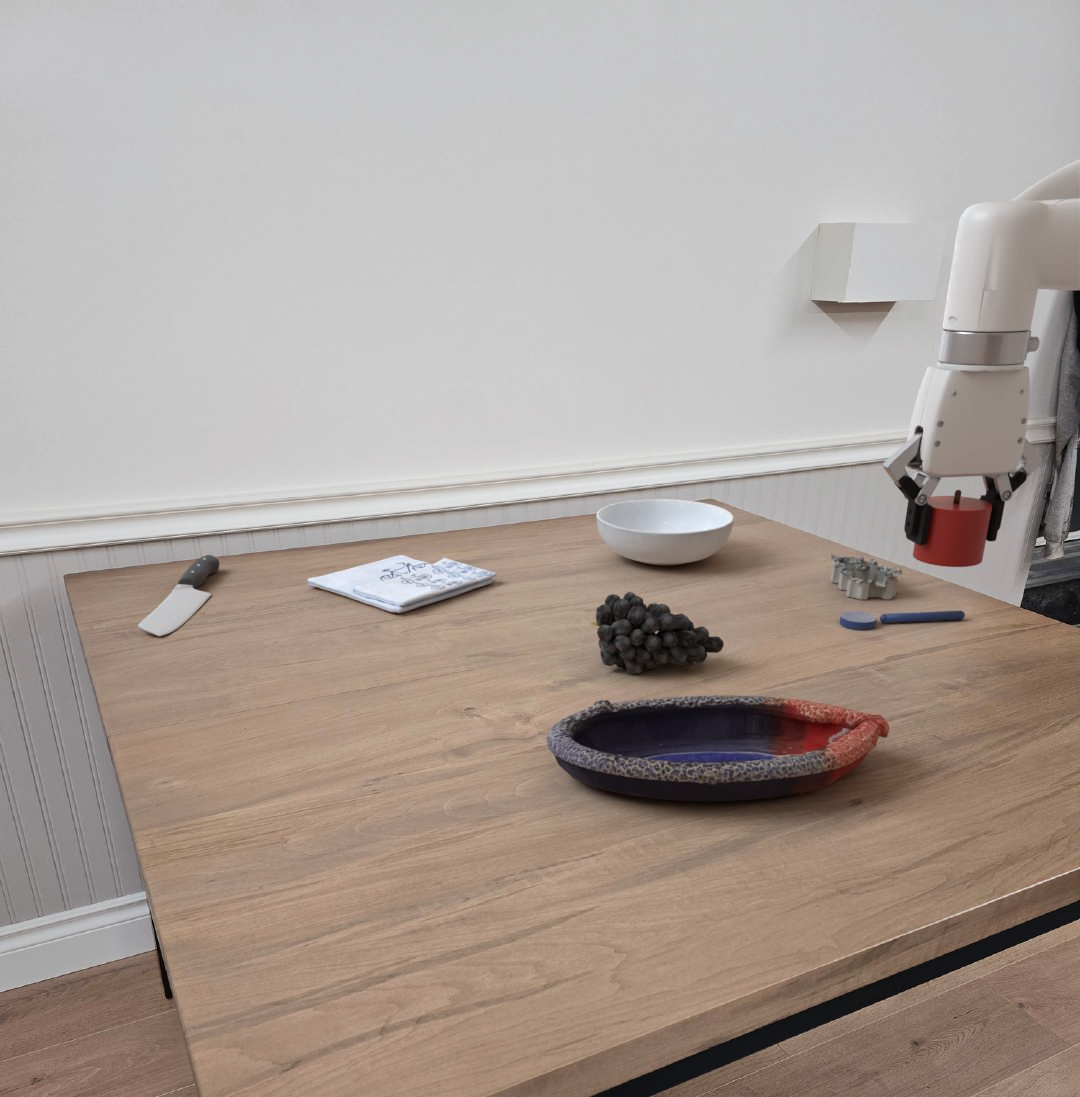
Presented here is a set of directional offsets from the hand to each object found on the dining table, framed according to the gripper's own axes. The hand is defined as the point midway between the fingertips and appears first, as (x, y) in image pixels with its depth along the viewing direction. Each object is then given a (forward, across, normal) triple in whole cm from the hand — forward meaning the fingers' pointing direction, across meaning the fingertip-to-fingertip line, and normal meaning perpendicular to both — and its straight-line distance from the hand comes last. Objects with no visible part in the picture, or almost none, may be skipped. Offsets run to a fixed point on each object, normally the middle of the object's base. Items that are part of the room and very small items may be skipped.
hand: (950, 538), depth 98 cm
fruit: (+16, +28, -9) cm, 33 cm away
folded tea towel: (+16, +56, -44) cm, 73 cm away
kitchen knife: (+15, +85, -41) cm, 96 cm away
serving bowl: (+16, +16, -53) cm, 58 cm away
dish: (+16, +28, +16) cm, 36 cm away
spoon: (+16, -6, -20) cm, 26 cm away
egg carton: (+16, -8, -34) cm, 38 cm away
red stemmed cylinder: (+2, 0, 0) cm, 2 cm away
